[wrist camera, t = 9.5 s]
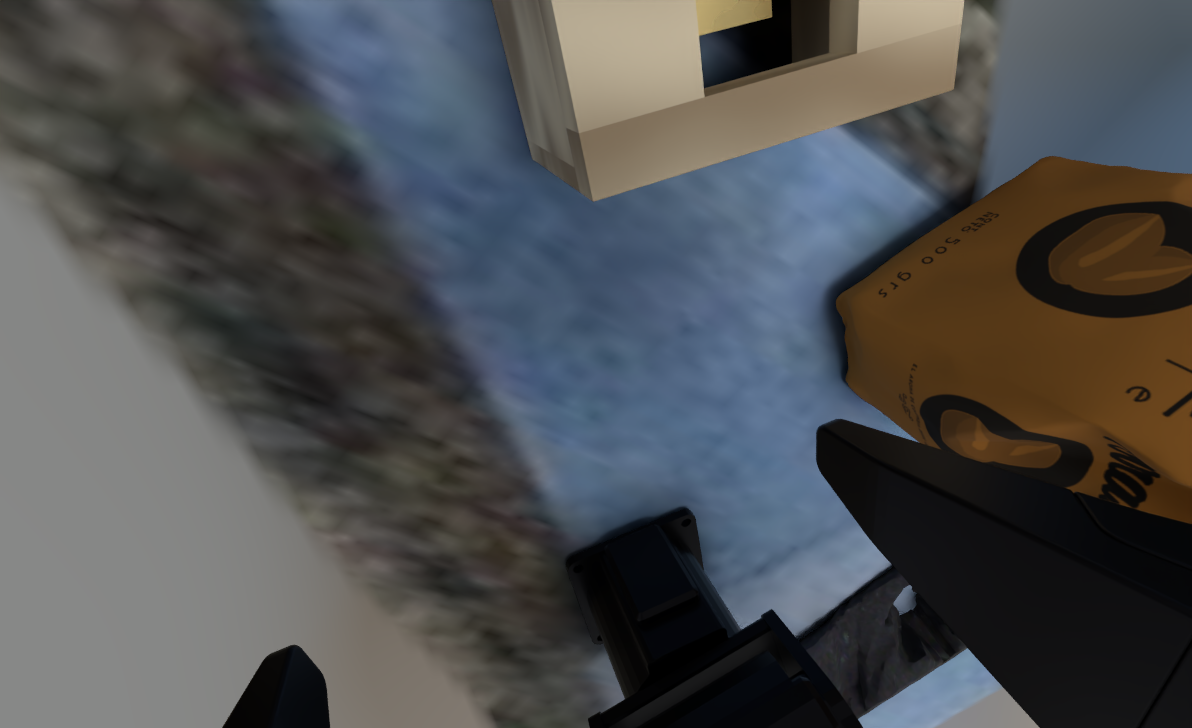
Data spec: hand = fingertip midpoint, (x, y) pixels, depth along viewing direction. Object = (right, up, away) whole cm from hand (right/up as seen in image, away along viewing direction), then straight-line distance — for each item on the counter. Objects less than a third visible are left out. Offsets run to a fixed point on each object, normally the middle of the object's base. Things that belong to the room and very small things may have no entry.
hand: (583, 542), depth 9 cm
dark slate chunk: (+17, -18, +32) cm, 40 cm away
